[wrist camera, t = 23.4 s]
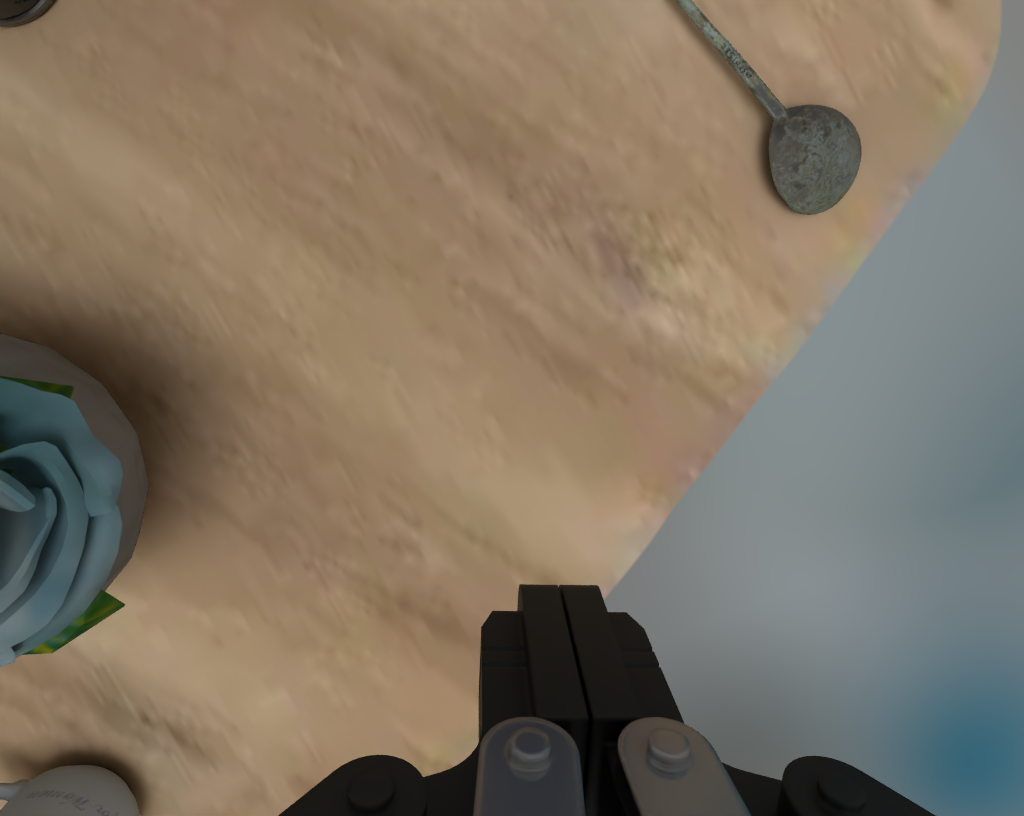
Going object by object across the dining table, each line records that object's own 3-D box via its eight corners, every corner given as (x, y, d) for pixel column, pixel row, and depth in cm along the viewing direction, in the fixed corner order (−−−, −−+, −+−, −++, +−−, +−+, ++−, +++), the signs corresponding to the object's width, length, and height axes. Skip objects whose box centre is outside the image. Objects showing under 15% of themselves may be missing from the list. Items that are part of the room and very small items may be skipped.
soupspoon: (797, 235, 48) (864, 170, 47) (823, 234, 45) (895, 164, 44) (601, -10, 42) (673, -87, 42) (614, -31, 39) (693, -115, 38)
